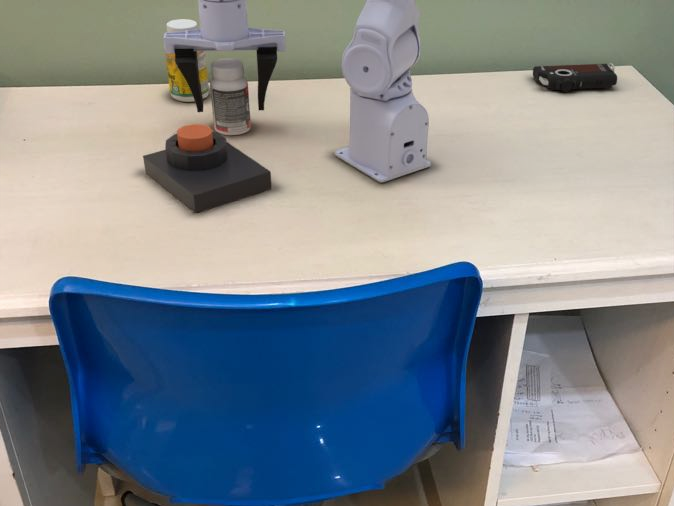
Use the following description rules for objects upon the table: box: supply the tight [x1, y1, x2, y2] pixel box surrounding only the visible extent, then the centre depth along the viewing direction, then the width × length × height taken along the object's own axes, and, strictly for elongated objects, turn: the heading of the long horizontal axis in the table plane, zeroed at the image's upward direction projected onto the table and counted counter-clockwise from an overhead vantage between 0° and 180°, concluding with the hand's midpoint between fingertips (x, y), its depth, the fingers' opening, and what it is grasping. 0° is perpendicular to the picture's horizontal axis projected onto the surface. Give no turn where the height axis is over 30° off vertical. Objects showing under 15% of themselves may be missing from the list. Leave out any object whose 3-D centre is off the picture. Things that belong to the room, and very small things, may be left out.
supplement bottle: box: [163, 18, 210, 103], centre depth 118 cm, size 5×5×10 cm
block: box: [142, 131, 272, 214], centre depth 100 cm, size 12×10×4 cm
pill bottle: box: [209, 57, 252, 136], centre depth 110 cm, size 5×5×8 cm
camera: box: [532, 62, 618, 93], centre depth 126 cm, size 6×3×11 cm
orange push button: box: [176, 123, 214, 151], centre depth 100 cm, size 4×4×2 cm
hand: (230, 108), depth 111 cm, fingers open, 7 cm apart
